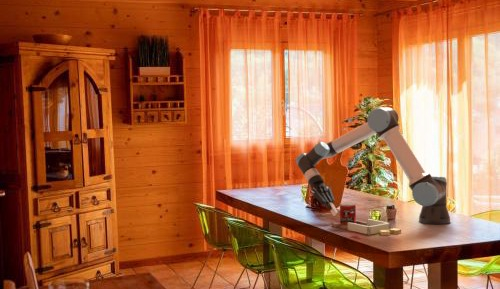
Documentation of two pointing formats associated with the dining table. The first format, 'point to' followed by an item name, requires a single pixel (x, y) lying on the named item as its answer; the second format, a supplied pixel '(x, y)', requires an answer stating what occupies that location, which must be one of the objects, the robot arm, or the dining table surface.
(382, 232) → the chip
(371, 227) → the tray
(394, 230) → the chip
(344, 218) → the canned food
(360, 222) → the slot rails
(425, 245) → the dining table surface
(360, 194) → the dining table surface
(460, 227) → the dining table surface
